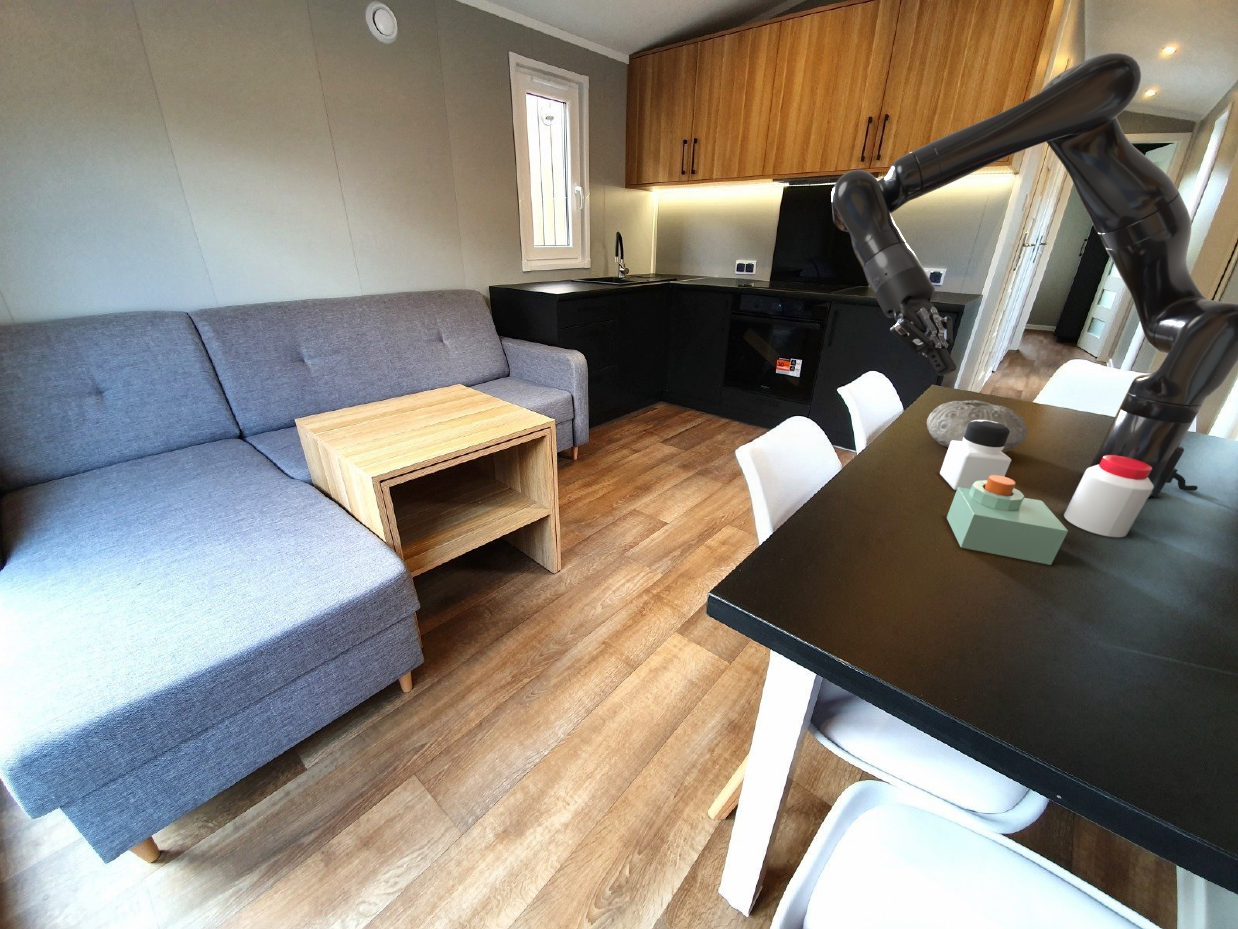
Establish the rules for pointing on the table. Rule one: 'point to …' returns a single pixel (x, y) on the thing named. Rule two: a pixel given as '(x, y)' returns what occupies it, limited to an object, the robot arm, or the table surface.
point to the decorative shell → (956, 416)
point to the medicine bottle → (976, 455)
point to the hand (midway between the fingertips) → (948, 372)
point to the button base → (1005, 524)
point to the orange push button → (1000, 485)
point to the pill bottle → (1110, 496)
